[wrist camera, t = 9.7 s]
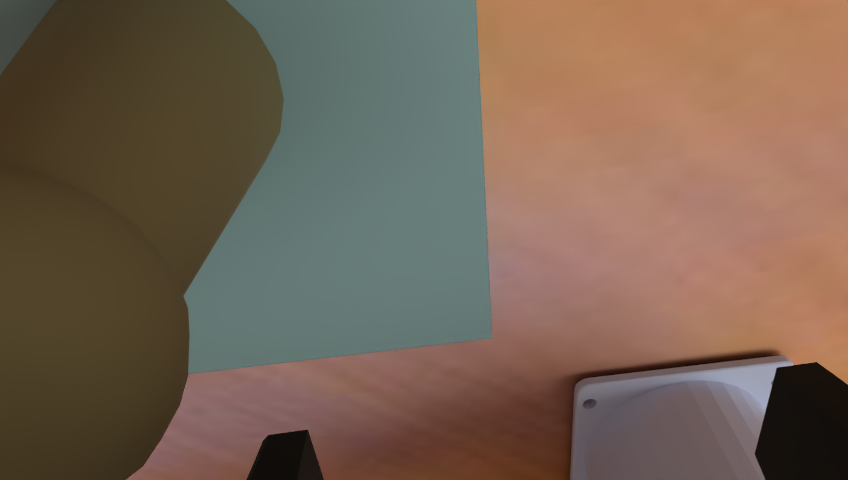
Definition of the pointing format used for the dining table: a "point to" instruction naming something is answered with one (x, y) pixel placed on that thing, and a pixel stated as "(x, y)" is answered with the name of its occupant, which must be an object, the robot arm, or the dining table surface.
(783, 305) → the dining table surface
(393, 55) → the teal board
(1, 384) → the olive game pawn
